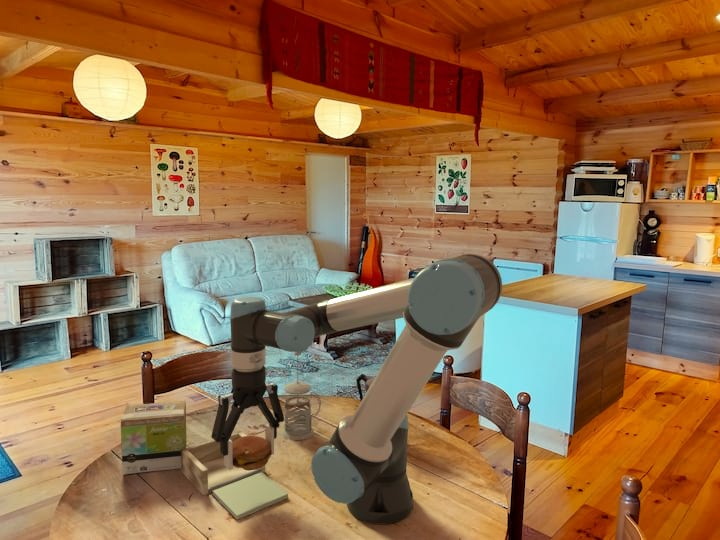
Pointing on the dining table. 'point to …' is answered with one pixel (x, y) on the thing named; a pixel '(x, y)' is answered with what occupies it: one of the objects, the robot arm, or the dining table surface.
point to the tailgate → (248, 493)
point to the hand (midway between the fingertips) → (249, 459)
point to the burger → (250, 452)
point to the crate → (209, 465)
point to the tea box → (153, 436)
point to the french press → (302, 424)
